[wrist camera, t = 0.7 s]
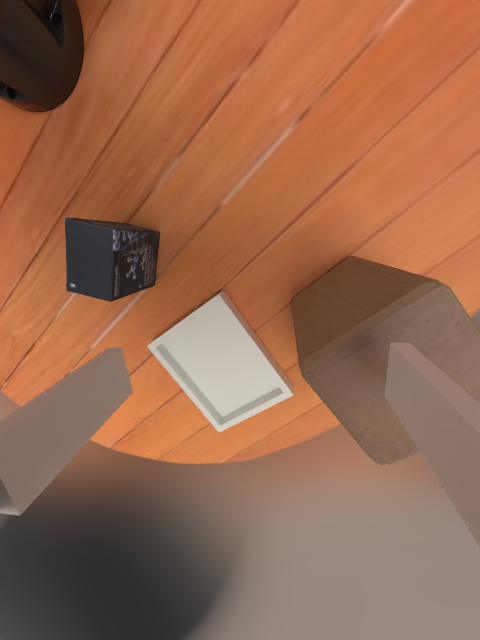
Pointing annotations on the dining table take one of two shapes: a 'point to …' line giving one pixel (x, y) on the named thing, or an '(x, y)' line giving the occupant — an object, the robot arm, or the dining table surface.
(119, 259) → the box
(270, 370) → the tray
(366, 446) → the wooden block
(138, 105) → the dining table surface
